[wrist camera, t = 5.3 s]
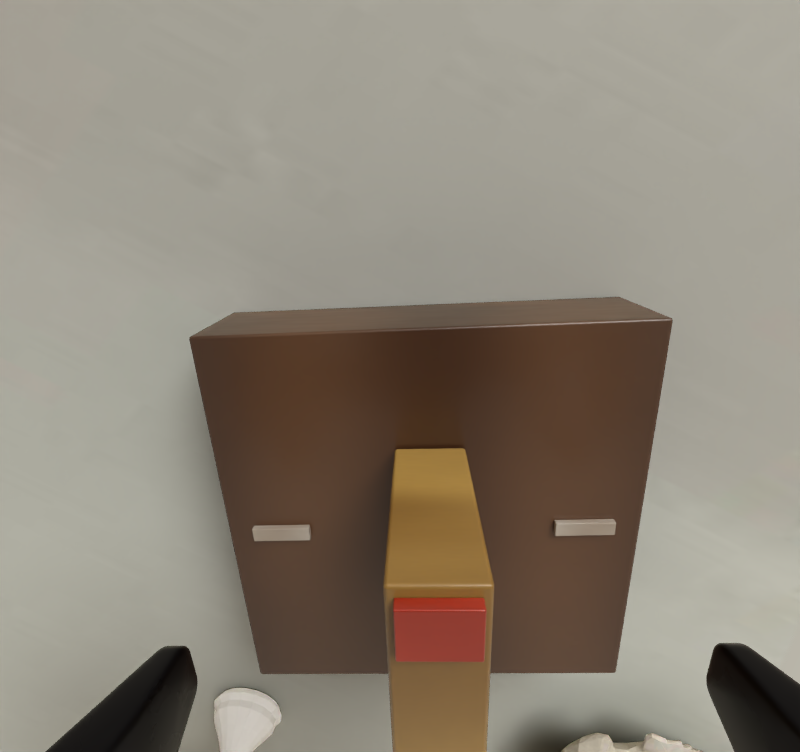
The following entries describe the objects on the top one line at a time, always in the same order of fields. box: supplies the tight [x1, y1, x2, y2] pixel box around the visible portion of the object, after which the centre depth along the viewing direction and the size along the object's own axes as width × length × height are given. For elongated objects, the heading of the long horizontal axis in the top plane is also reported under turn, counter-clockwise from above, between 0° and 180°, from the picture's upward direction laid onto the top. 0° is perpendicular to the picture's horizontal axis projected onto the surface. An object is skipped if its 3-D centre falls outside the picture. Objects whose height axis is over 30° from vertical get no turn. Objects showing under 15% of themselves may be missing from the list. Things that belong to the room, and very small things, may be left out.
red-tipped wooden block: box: [383, 448, 494, 752], centre depth 9 cm, size 4×2×4 cm, turn 2°
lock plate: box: [189, 297, 672, 674], centre depth 12 cm, size 10×10×3 cm
